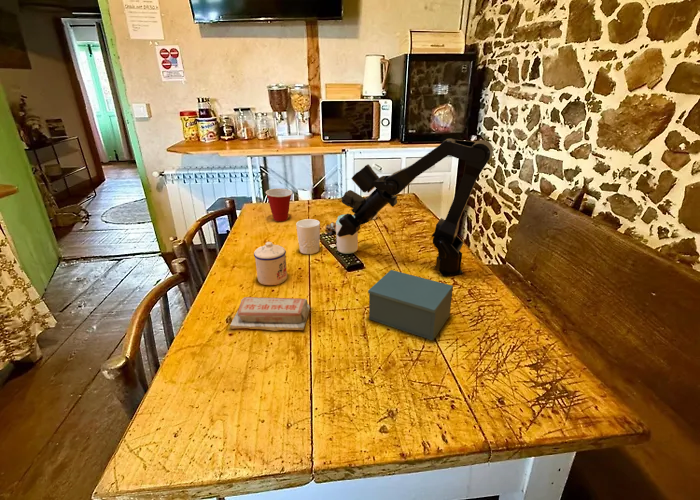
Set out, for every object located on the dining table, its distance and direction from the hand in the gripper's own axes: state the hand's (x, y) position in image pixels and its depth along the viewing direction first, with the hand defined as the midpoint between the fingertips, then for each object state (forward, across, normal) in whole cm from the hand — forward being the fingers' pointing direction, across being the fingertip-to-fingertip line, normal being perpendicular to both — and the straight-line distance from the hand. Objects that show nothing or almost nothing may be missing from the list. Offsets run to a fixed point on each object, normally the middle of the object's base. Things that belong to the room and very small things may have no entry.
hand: (343, 231), depth 131 cm
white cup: (+13, +4, -3) cm, 14 cm away
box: (-17, +29, +28) cm, 44 cm away
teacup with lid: (+14, +24, -3) cm, 28 cm away
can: (+4, 0, +6) cm, 7 cm away
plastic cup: (+32, -19, -22) cm, 43 cm away
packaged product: (+5, +43, +6) cm, 44 cm away
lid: (-23, +29, +22) cm, 43 cm away
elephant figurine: (+8, -34, +3) cm, 35 cm away
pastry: (+12, -16, -1) cm, 20 cm away
